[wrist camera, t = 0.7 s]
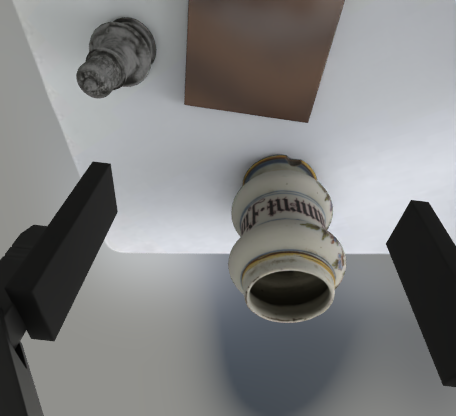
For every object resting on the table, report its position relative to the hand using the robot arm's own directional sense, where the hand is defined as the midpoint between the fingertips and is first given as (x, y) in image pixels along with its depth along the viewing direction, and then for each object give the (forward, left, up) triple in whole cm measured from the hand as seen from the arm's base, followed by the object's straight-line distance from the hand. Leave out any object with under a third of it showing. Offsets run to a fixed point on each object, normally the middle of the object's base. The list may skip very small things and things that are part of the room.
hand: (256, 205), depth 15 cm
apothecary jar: (+17, +6, -25) cm, 31 cm away
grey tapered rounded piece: (+2, -13, -25) cm, 29 cm away
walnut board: (-3, 0, -25) cm, 25 cm away
